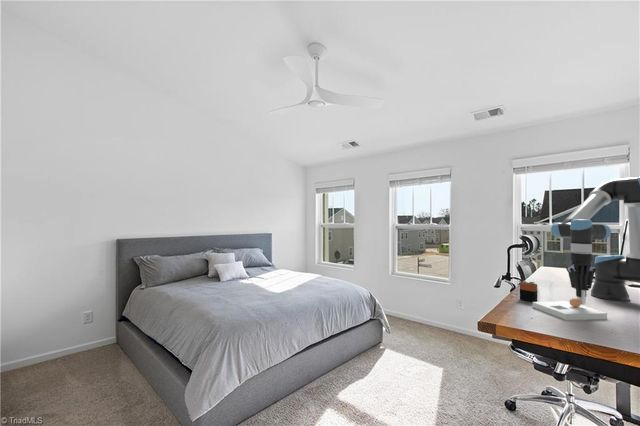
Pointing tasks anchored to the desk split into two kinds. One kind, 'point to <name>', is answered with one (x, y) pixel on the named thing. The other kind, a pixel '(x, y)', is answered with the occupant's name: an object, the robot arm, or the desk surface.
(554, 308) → the white flat square slab
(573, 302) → the ball
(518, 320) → the desk surface
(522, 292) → the battery
